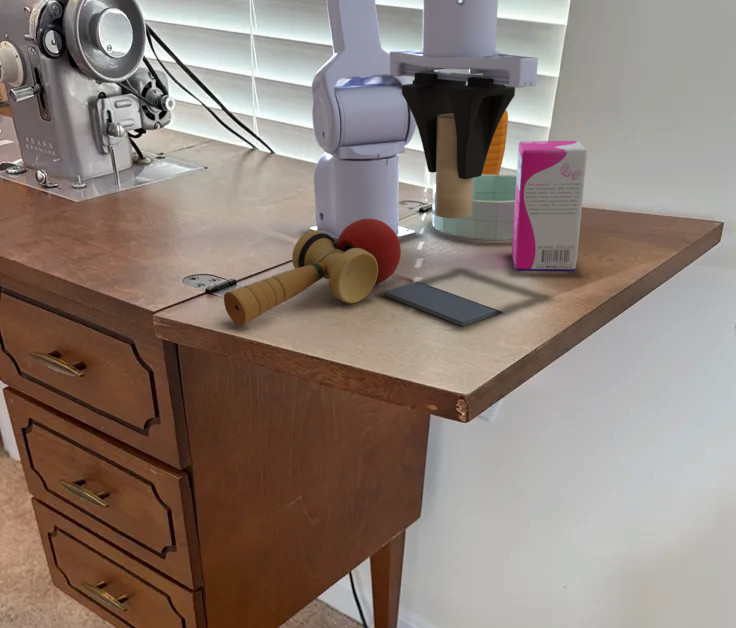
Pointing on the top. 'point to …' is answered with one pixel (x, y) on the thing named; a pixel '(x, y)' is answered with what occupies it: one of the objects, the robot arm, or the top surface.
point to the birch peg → (450, 174)
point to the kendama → (324, 269)
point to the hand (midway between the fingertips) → (454, 173)
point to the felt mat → (441, 303)
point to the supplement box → (548, 205)
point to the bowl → (484, 210)
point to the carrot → (496, 148)
